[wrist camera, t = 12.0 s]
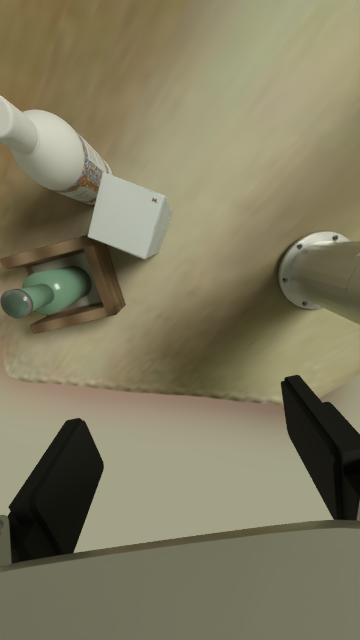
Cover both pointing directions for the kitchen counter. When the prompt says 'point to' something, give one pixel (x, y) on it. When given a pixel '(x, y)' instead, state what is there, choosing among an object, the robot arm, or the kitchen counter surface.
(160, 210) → the supplement box
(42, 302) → the green bottle
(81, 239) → the walnut U-rest
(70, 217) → the kitchen counter surface
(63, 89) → the kitchen counter surface
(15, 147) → the bath foam
